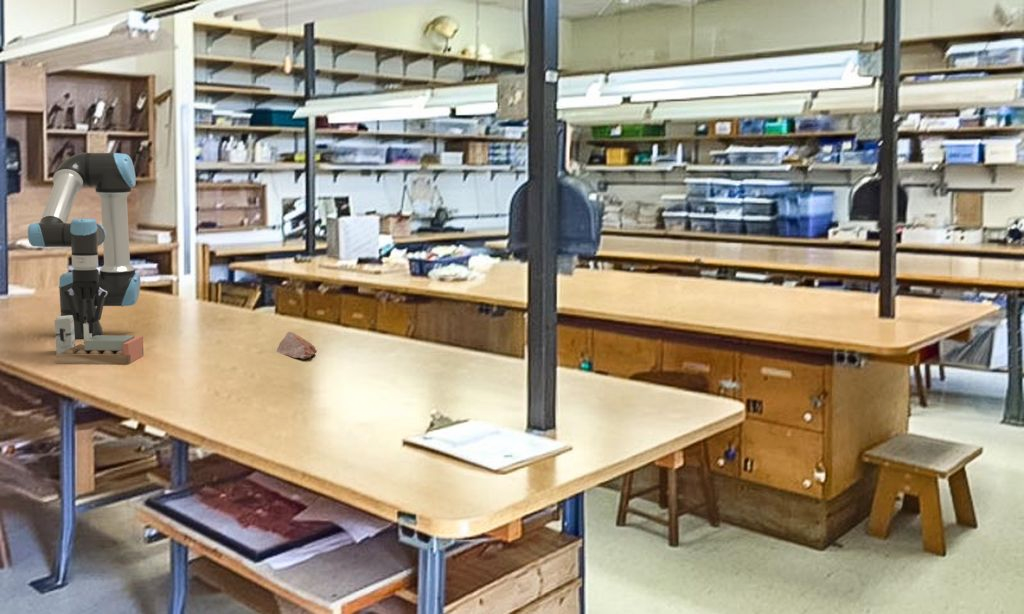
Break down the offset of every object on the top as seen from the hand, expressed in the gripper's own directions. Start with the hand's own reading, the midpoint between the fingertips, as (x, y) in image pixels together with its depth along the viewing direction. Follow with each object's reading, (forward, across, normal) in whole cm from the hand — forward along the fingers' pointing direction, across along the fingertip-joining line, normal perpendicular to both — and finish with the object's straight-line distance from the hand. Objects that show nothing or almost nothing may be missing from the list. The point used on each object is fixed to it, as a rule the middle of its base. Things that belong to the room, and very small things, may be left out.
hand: (88, 343), depth 312 cm
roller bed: (+5, +4, 0) cm, 6 cm away
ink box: (+5, -11, +11) cm, 17 cm away
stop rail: (+5, +14, 0) cm, 15 cm away
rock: (+5, +65, +12) cm, 66 cm away
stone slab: (+1, +7, 0) cm, 7 cm away
